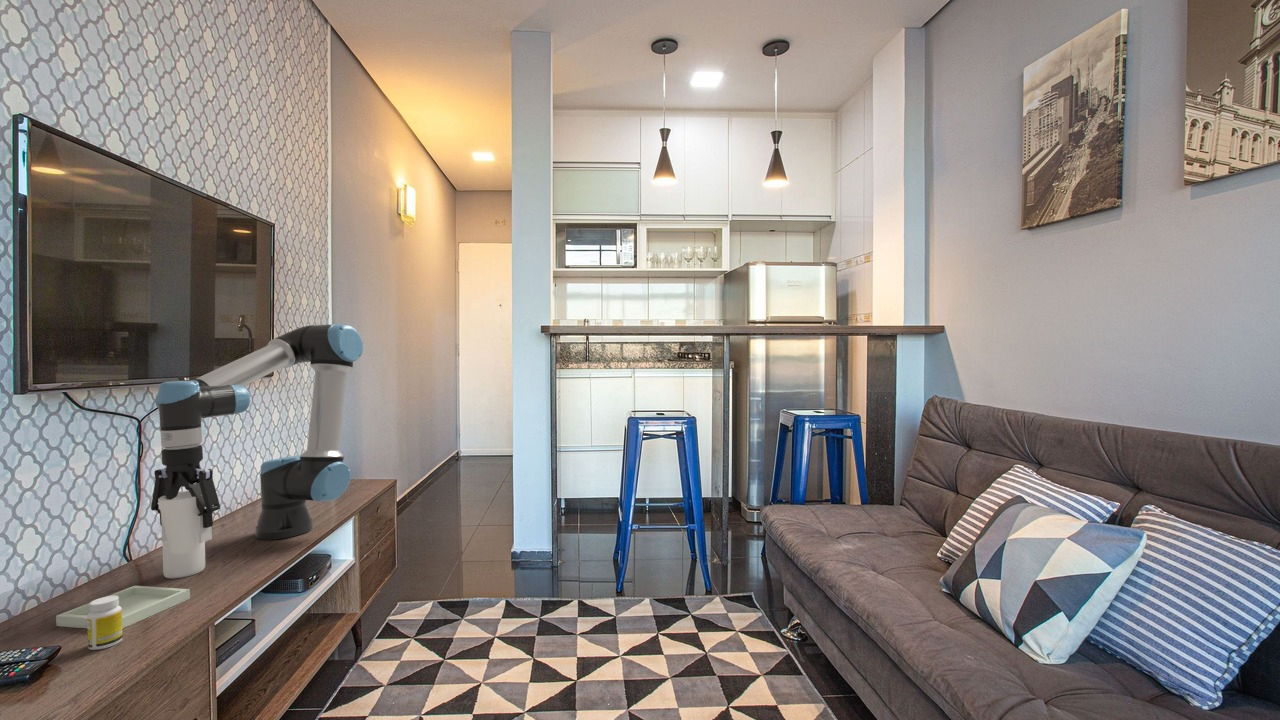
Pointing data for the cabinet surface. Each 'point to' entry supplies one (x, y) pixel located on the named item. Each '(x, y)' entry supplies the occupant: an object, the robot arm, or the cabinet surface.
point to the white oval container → (182, 562)
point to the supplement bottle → (104, 623)
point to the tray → (130, 605)
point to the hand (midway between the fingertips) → (187, 540)
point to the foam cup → (181, 522)
